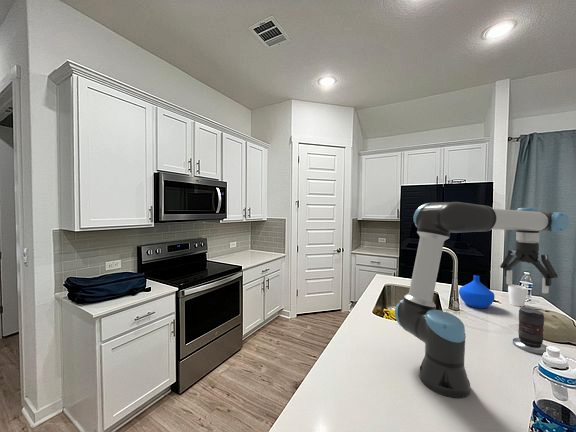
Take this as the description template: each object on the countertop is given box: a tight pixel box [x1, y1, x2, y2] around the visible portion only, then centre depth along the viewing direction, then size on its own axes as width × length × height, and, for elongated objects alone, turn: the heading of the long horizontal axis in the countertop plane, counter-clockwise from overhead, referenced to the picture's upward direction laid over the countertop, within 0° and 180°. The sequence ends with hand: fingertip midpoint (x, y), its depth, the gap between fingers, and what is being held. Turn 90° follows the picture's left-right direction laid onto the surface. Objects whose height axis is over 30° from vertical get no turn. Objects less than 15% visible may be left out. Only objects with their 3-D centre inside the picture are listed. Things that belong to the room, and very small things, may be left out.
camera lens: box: [518, 307, 545, 348], centre depth 110 cm, size 8×8×15 cm
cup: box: [507, 284, 528, 308], centre depth 161 cm, size 9×9×12 cm
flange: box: [512, 337, 548, 356], centre depth 110 cm, size 12×12×1 cm
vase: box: [458, 274, 496, 309], centre depth 159 cm, size 18×18×19 cm
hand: (526, 288), depth 113 cm, fingers open, 13 cm apart
